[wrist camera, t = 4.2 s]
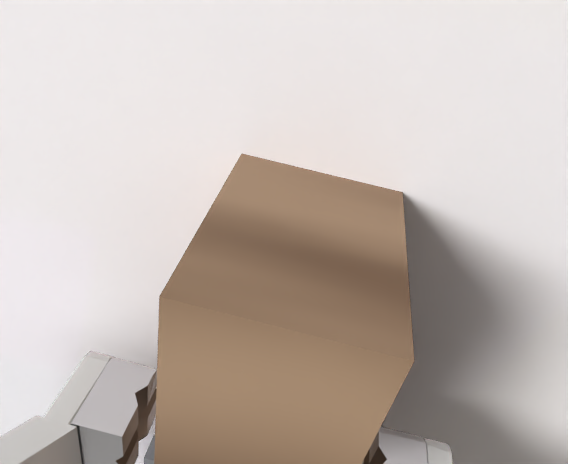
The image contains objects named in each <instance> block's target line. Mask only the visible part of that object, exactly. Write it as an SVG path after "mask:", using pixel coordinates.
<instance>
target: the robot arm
mask: <svg viewBox="0 0 568 464" xmlns="http://www.w3.org/2000/svg"><path fill="white" fill-rule="evenodd" d="M156 387H157V369H155V368H152V367H148V366H144V365H141V364H137V363H133V362H130V361H126V360H123V359H119V358H115V357H113V356H109V355H105V354H101V353H97V352H93V351H90V352H89V353H88V354H87V355H85V356H84V357H83V359H82V360H81V362H80V363H79V365H78V366H77V368H76V369H75V371H74V372H73V374H72V375H71V377H70V378H69V380H68V381H67V382H66V384H65V385H64V387H63V388H62V390H61V391H60V393H59V394H58V396H57V397H56V399H55V400H54V402H53V403H52V405H51V406H50V408H49V409H48V411H47V412H46V414H45V415H44V417H40V416H35V417H33V418H31V419H29V420H28V421H26V422H24V423H23V424H21V425H19V426H17V427H16V428H14V429H12V430H10V431H9V432H7V433H5V434H4V435H2V436H0V464H135V461H136V459H137V457H138V441H140V440H141V439H143V438H144V437H146V436H147V435H148V432H149V430H150V428H151V426H152V423H153V420H154V417H155V414H156V392H157V389H156ZM362 464H453V460H452V452H451V449H450V447H449V445H448V444H446V443H443V442H439V441H435V440H431V439H427V438H423V437H422V436H418V435H414V434H410V433H405V432H401V431H397V430H393V429H389V428H385V427H380V429H379V431H378V433H377V435H376V437H375V439H374V441H373V443H372V445H371V446H370V448H369V450H368V452H367V454H366V456H365V458H364V460H363V462H362Z"/></svg>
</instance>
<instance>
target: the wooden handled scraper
mask: <svg viewBox="0 0 568 464" xmlns="http://www.w3.org/2000/svg"><path fill="white" fill-rule="evenodd" d="M413 363H414V349H413V334H412V320H411V306H410V292H409V277H408V263H407V249H406V234H405V220H404V206H403V192H399V191H395V190H391V189H386V188H382V187H378V186H374V185H370V184H366V183H361V182H357V181H353V180H349V179H345V178H341V177H337V176H332V175H328V174H324V173H320V172H316V171H312V170H307V169H303V168H299V167H295V166H291V165H287V164H283V163H278V162H274V161H270V160H266V159H262V158H258V157H253V156H249V155H245V154H241V156H240V158H239V159H238V161H237V163H236V164H235V166H234V168H233V170H232V171H231V173H230V175H229V177H228V178H227V180H226V182H225V184H224V185H223V187H222V189H221V191H220V192H219V194H218V196H217V197H216V199H215V201H214V203H213V204H212V206H211V208H210V210H209V211H208V213H207V215H206V217H205V218H204V220H203V222H202V224H201V225H200V227H199V229H198V231H197V232H196V234H195V236H194V237H193V239H192V241H191V243H190V244H189V246H188V248H187V250H186V251H185V253H184V255H183V257H182V258H181V260H180V262H179V264H178V265H177V267H176V269H175V270H174V272H173V274H172V276H171V277H170V279H169V281H168V283H167V284H166V286H165V288H164V290H163V291H162V293H161V295H160V298H159V329H158V360H157V392H156V423H155V435H154V436H153V439H152V441H151V443H150V446H149V448H148V450H147V453H146V455H145V457H144V464H362V462H363V460H364V458H365V456H366V454H367V452H368V450H369V448H370V446H371V445H372V443H373V441H374V439H375V437H376V435H377V433H378V431H379V429H380V427H381V425H382V423H383V421H384V419H385V417H386V415H387V413H388V411H389V410H390V408H391V406H392V404H393V402H394V400H395V398H396V396H397V394H398V392H399V390H400V388H401V386H402V384H403V382H404V380H405V378H406V377H407V375H408V373H409V371H410V369H411V367H412V365H413Z"/></svg>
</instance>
